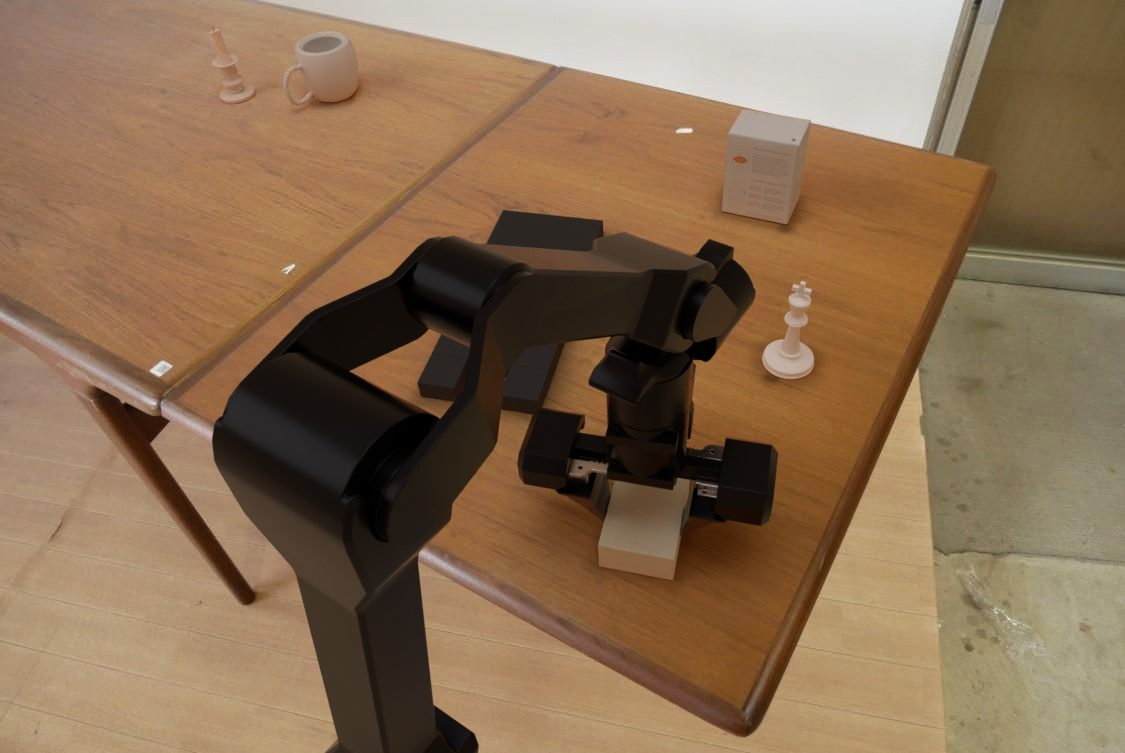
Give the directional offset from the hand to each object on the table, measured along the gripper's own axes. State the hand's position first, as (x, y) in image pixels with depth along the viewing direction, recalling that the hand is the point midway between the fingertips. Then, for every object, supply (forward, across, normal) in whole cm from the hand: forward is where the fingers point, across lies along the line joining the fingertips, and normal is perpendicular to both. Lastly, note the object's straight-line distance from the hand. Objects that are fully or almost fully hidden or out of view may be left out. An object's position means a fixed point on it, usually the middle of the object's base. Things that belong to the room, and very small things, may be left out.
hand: (645, 525), depth 69 cm
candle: (+1, +73, -62) cm, 96 cm away
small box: (+1, -5, -47) cm, 47 cm away
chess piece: (+1, -10, -22) cm, 24 cm away
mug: (+1, +59, -63) cm, 86 cm away
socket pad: (+1, +18, -25) cm, 30 cm away
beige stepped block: (+1, 0, -2) cm, 2 cm away
